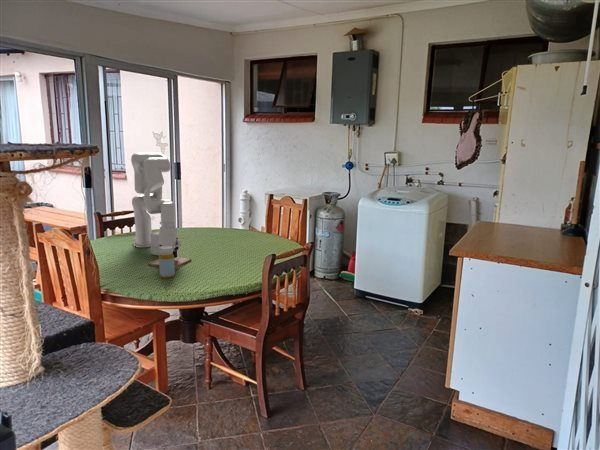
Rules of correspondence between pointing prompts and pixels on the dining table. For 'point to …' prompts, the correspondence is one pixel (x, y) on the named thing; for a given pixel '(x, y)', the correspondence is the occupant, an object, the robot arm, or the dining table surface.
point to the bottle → (166, 262)
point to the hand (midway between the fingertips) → (170, 256)
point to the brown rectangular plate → (177, 262)
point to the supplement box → (155, 243)
